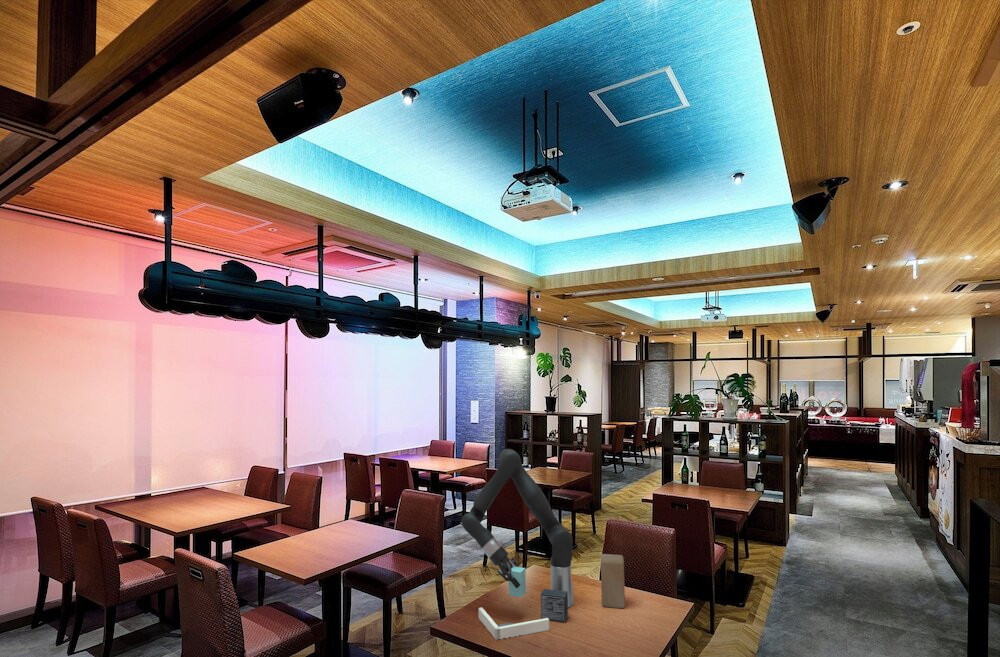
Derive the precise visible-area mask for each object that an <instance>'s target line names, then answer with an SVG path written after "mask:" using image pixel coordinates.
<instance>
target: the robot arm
mask: <svg viewBox="0 0 1000 657" xmlns="http://www.w3.org/2000/svg"><path fill="white" fill-rule="evenodd" d="M498 462H499V464H498V467H497V470H496V471H495V473H494V474H493V476H492V477H491V478H490V479H489V481H487V483H486V484H485V485H484V486H483V487H482V488H481V490H480V492H479V494H478V495H477V496H476V498H475V500H474V502H473V505H472V507H471V509H470V511H469V512H468V513H465V514H464V515H463V516H462V517H461V525H462V527H463V529H464V530H465V531H466V532H467V533H468V534H469V535H470V536H471V537H472V538H473V539H474V540H475V541H476V543H477V544H478V545H479V546H480V548H481V549H482V551H483V552H484V554H485V555H486V556H487V557H488V559H489V560H490V561H491V563H492V564H493V565H494V567H497V566H498V569H497V573H498V574H499V575H500V576H501V577H502V578H503V579H504V580H505V581H506V582H508V583H509V581H511V582H512V584H513V585H514V586H515V587H516V588H518V587H519V586H520V583H519V582H518V581H517V580H516V578H514V576H513V574H512V573H511V571H512V570H511V569H512V568H513V567H520V565H519V564H518V562H517V560H516V559H515V558H514V557H512V558H510V557H508V556H509V552H508V551H507V550H506V549H505V547H504V546H503V545H502V543H501V542H500V541H499V540H498V539H497V538H496V537H495V536H494V535H493V534H492V532H491V531H490V530H489V529H488V528H486V527H485V526H484V525H483V524H482V521H483V519H484V517H485V515H486V513H487V512H488V510H489V509H490V507H491V505H492V503H493V502H494V500H495V499H496V497H497V496H498V494H499V493H500V491H501V490H502V488H503V487H504V485H505V484H506V483H507V482H508V480H509V479H510V478H511V480H512V481H513V483H514V485H515V486H516V490H517V491H518V493H519V495H520V496H521V499H522V500H523V501H524V503H525V505H526V507H527V508H528V509H529V511H530V512H531V514H532V515H533V516H534V517H535V518H536V520H537V521H538V522H539V523H540V525H541V526H542V529H543V530H544V532H545V535H546V536H547V538H548V540H549V542H550V544H551V545H552V550H551V552H552V556H551V557H550V562H549V563H550V590H558V591H567V592H568V608H570V607H571V606H574V582H573V581H572V559H573V537H572V534H571V533H570V532H569V530H568V529H566V528H565V526H564V525H563V524H561V522H560V521H559V520H558V518H557V517H556V516H555V514H554V512H553V510H552V507H551V505H550V503H549V500H548V499H547V497H546V495H545V494H544V492H543V491H542V489H541V487H540V486H539V484H537V483H536V481H535V480H534V479H533V478H532V477H531V475H530V474H529V473H528V472H527V470H526V469H525V467H524V465H523V463H522V460H521V456H520V455H519V453H518V452H517V451H515V450H513V449H511V448H505V449H502V451H501V452H500V453H499V456H498ZM509 574H510V575H511V576H510V575H509Z"/></svg>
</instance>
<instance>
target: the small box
mask: <svg viewBox="0 0 1000 657" xmlns="http://www.w3.org/2000/svg"><path fill="white" fill-rule="evenodd" d="M540 616H541V617H540V619H544V618H548V619H549V622H551V621H552V622H557V623H558V622H559V623H563V624H564V623H566V621H567V620H568V618H569V607H568V592H567V591H558V590H551V588H550V589H549V588H544V589H542V591H541V593H540Z"/></svg>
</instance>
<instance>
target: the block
mask: <svg viewBox="0 0 1000 657" xmlns="http://www.w3.org/2000/svg"><path fill="white" fill-rule="evenodd" d="M600 570H601V571H600V576H601V577H600V580H601V583H600V584H601V586H600V587H601V606H602V607H605V608H617V609H624V608H625V607H626V595H625V594H626V593H625V591H626V590H625V560H624V556H623V555H622V554H611V553H610V554H608V553H603V554H601V555H600Z"/></svg>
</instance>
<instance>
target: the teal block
mask: <svg viewBox="0 0 1000 657" xmlns="http://www.w3.org/2000/svg"><path fill="white" fill-rule="evenodd" d="M511 570H512V571H511V573H512V574H513V576H514V578H516V580H517V581H518V582H519V583H520V586H519V587H518V588H516V587H515V586H514V585H513V584H512V582H511V581H508V596H511V597H516V598H522V597H523V596H524V595H525V594H526V593H527V587H526V585H527V584H526V583H527V581H526V574H527V573H526V567H521V566H519V567H513V568H512V569H511ZM509 575H510V574H509ZM510 576H511V575H510Z"/></svg>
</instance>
